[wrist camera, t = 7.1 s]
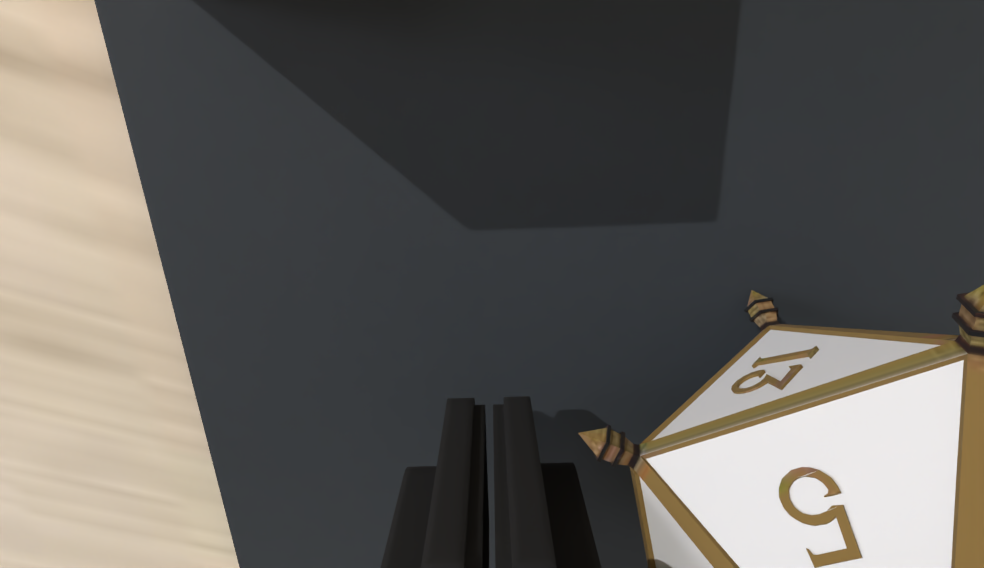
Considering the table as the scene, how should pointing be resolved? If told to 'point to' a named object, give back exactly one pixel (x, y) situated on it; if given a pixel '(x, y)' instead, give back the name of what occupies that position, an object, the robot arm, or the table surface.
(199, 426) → the table surface
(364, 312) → the mat
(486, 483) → the robot arm
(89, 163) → the table surface
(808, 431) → the game die
